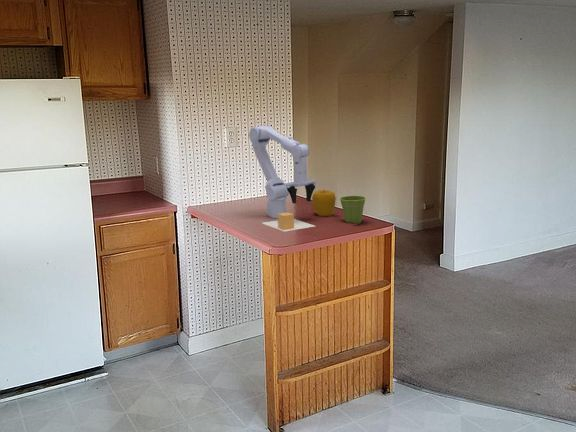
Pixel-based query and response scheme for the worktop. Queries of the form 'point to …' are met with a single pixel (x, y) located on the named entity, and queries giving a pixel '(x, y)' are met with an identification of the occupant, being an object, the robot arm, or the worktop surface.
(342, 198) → the plant pot
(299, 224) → the plate
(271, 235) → the worktop surface
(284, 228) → the wooden toy cube
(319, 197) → the apple
